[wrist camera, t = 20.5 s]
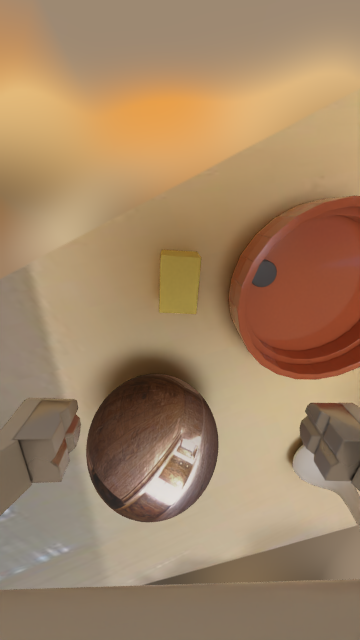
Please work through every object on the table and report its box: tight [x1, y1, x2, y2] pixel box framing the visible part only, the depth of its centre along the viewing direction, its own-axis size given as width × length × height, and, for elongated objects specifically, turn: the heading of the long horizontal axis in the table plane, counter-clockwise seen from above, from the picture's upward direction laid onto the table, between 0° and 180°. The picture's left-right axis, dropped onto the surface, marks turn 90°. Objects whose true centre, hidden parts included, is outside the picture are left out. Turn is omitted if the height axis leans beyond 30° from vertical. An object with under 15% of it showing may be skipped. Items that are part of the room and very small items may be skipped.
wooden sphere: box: [86, 374, 218, 522], centre depth 28 cm, size 15×15×15 cm
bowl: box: [229, 196, 360, 380], centre depth 27 cm, size 20×20×5 cm
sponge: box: [159, 250, 201, 314], centre depth 26 cm, size 6×4×4 cm, turn 177°
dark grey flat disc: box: [252, 259, 277, 287], centre depth 27 cm, size 3×3×1 cm
